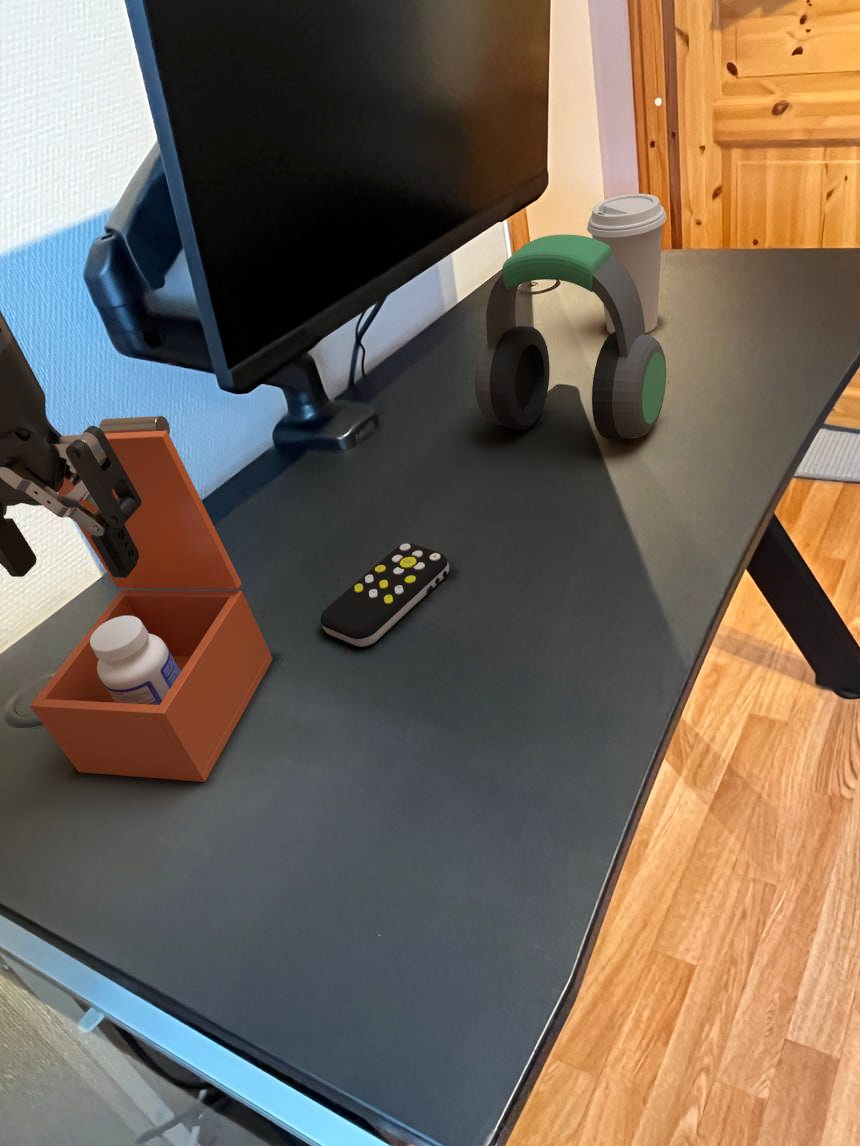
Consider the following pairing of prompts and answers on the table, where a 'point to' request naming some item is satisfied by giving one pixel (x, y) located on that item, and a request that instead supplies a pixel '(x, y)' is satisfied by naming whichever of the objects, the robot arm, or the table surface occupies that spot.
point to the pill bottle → (133, 662)
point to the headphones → (520, 356)
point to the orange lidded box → (190, 708)
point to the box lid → (163, 513)
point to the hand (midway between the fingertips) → (75, 570)
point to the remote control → (384, 594)
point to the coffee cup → (633, 244)
